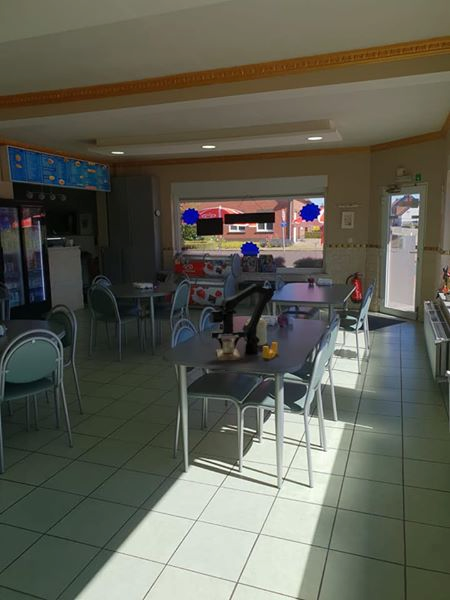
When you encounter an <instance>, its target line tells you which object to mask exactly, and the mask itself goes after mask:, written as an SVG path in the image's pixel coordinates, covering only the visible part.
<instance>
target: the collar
mask: <svg viewBox="0 0 450 600" xmlns="http://www.w3.org/2000/svg"><path fill="white" fill-rule="evenodd" d="M222 346H223V349H222V348H221V349H222V351H223V353H227V352H234V338H222Z"/></svg>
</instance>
